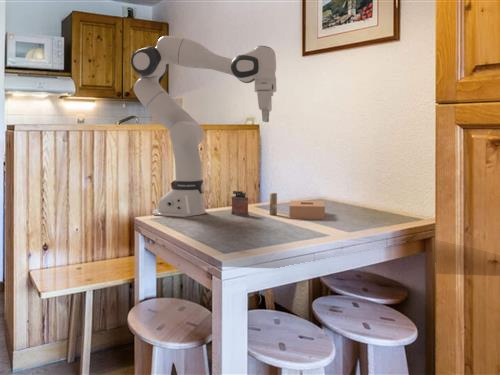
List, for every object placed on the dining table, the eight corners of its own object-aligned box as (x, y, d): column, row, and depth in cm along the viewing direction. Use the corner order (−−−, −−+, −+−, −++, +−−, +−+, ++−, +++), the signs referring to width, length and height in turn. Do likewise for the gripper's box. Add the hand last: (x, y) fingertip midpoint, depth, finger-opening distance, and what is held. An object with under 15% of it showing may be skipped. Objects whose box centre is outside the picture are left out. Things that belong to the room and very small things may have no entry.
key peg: (269, 215, 185) (269, 193, 184) (269, 213, 188) (270, 192, 187) (276, 215, 185) (276, 194, 184) (277, 214, 188) (277, 193, 187)
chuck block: (289, 218, 179) (289, 205, 178) (290, 211, 193) (290, 200, 192) (324, 218, 177) (324, 206, 177) (323, 212, 191) (323, 201, 190)
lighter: (250, 214, 187) (250, 191, 185) (245, 216, 184) (245, 192, 183) (234, 212, 191) (234, 189, 190) (229, 214, 188) (229, 190, 187)
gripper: (260, 89, 191) (260, 122, 193) (255, 85, 171) (255, 121, 173) (274, 89, 190) (275, 122, 192) (271, 84, 170) (271, 121, 172)
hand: (265, 121), depth 182 cm, fingers open, 8 cm apart
